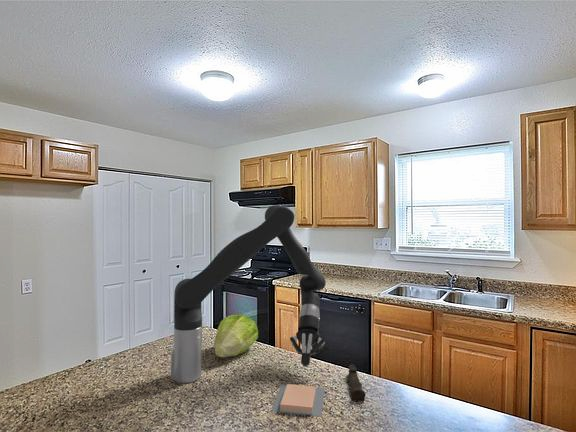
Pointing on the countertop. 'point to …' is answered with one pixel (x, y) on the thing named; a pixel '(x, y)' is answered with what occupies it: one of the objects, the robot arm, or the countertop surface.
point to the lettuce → (235, 335)
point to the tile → (298, 399)
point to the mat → (316, 412)
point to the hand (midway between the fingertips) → (305, 365)
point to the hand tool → (355, 384)
